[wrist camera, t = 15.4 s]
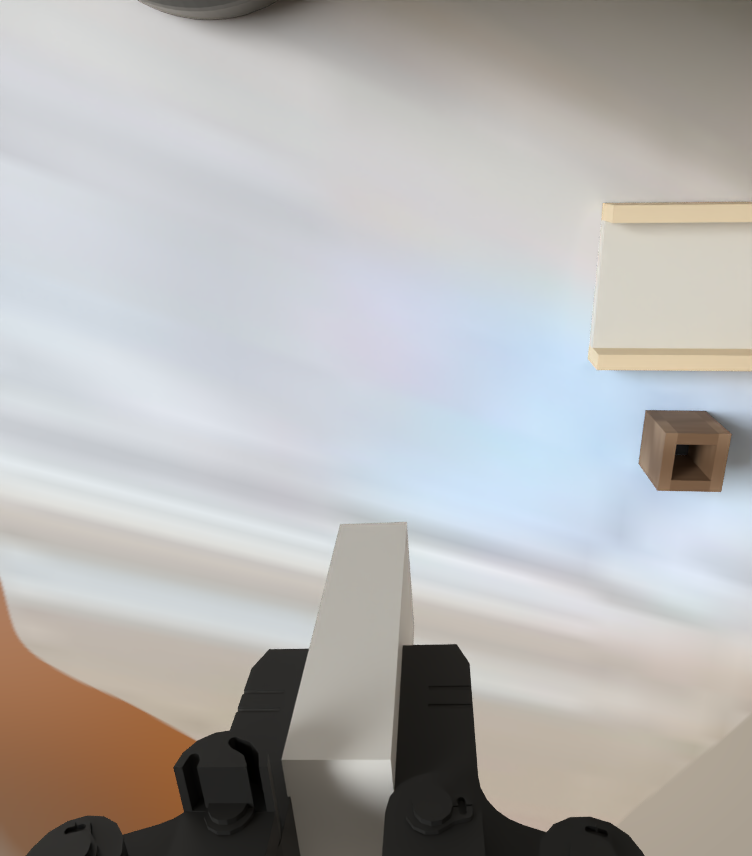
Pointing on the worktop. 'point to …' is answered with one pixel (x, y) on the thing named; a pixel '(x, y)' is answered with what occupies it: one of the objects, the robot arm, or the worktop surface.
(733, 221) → the runway
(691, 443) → the wooden square sleeve
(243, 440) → the worktop surface
